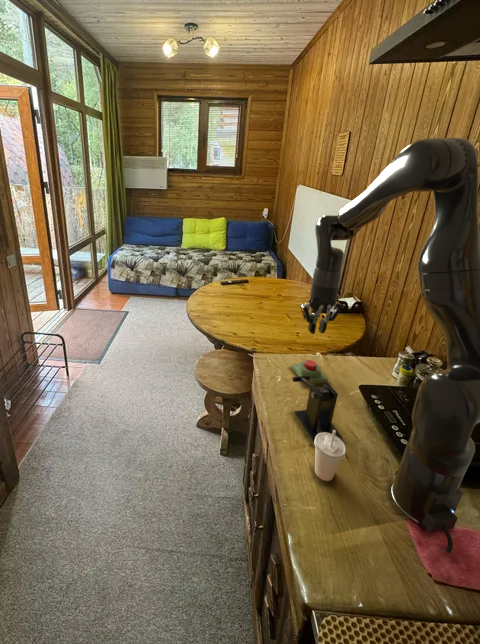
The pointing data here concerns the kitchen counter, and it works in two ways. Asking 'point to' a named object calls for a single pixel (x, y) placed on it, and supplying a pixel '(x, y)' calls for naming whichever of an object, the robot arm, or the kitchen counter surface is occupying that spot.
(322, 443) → the smoothie
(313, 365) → the button
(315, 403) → the bracket
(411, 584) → the kitchen counter surface
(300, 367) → the control block
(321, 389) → the lever
